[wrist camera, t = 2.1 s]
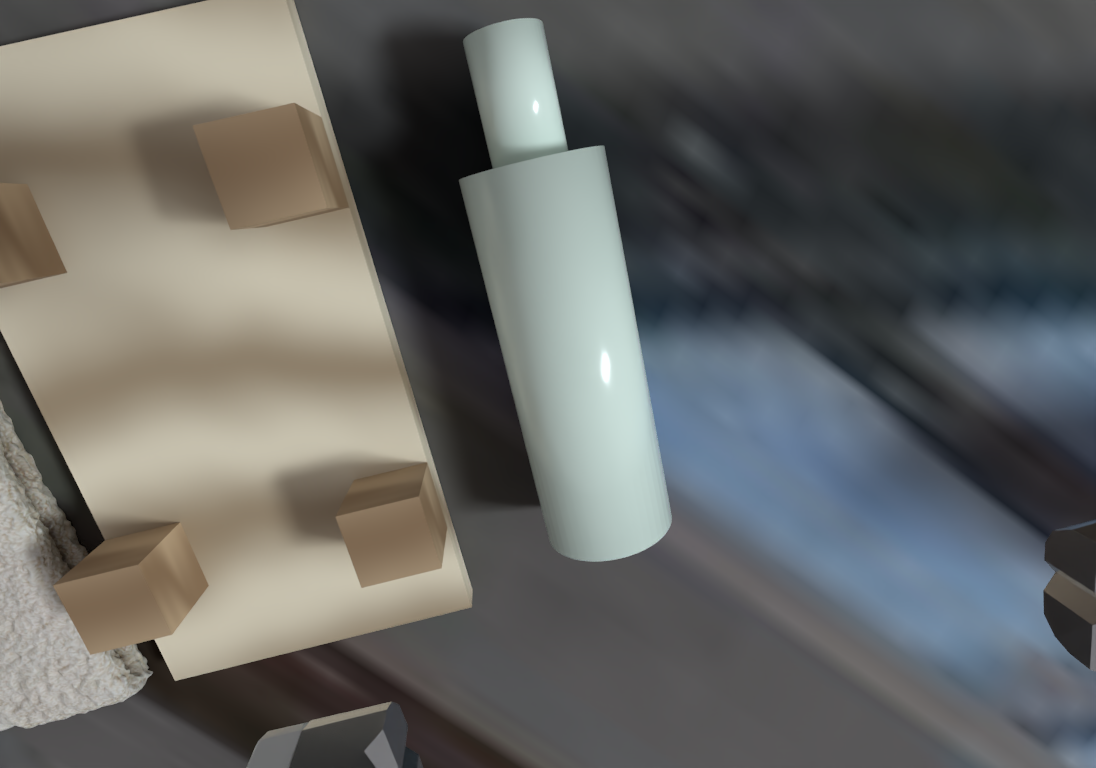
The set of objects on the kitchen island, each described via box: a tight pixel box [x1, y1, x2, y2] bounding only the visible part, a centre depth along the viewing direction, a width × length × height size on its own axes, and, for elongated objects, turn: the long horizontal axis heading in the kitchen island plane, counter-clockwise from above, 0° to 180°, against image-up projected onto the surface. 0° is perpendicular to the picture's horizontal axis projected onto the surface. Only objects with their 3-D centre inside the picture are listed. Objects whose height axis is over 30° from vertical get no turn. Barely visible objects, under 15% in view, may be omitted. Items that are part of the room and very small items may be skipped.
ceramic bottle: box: [459, 18, 672, 561], centre depth 22 cm, size 18×5×5 cm, turn 13°
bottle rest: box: [0, 0, 473, 681], centre depth 22 cm, size 24×13×4 cm, turn 13°
